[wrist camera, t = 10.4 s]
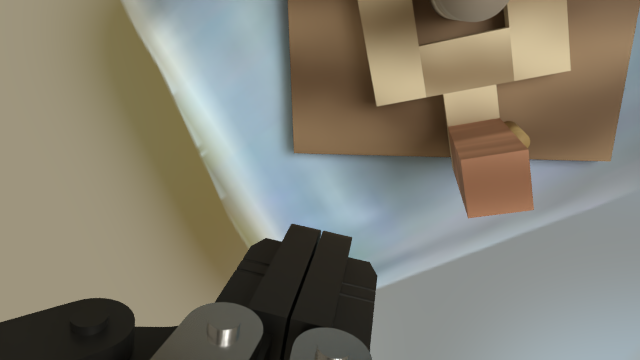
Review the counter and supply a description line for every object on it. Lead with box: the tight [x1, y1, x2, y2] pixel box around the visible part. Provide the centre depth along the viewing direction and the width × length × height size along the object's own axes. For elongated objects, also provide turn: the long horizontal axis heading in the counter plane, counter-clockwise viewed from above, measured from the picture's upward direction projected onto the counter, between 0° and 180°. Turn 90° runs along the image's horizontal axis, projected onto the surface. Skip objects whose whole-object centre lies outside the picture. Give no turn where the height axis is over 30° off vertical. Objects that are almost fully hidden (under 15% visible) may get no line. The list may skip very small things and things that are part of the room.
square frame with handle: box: [358, 0, 571, 218], centre depth 24 cm, size 16×11×8 cm
